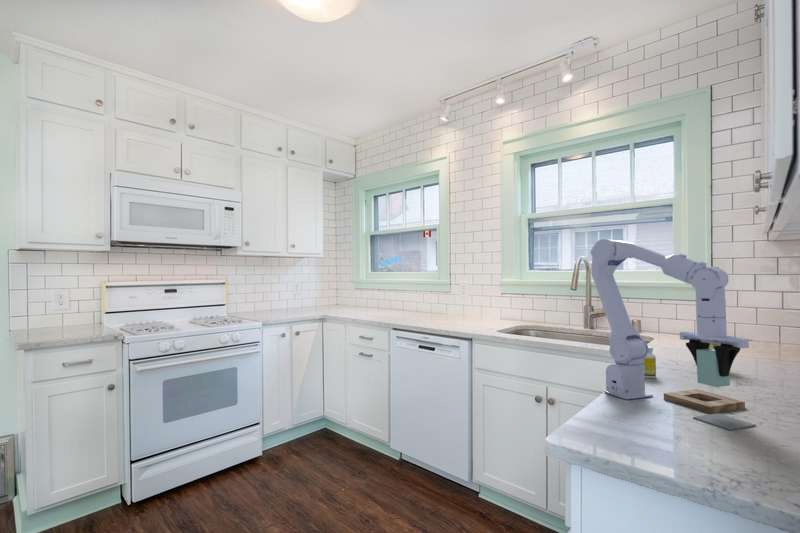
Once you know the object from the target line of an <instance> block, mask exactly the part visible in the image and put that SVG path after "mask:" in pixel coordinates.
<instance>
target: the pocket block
mask: <svg viewBox="0 0 800 533" xmlns="http://www.w3.org/2000/svg"><path fill="white" fill-rule="evenodd" d="M663 400H665V401H669V402H671V403H674V404H678V405H681V406H684V407H687V408H691V409H694V410H697V411H701V412H704V413H707V414H715V413H723V412H729V411H737V410H742V409H745V408H746V401H744V400H740V399H737V398H732V397H729V396H725V395H720V394H717V393H713V392H709V391H704V390H701V389H699V388H698V389H697V388H696V389H695V388H694V389H687V390H679V391H671V392H663Z"/></svg>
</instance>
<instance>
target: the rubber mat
mask: <svg viewBox="0 0 800 533" xmlns="http://www.w3.org/2000/svg"><path fill="white" fill-rule="evenodd" d="M692 419H694V420H697V421H700V422H703V423H706V424H709V425H712V426H714V427H715V426H716V427H718V428H721V429H724V430H728V431H735V430H741V429H747V428H752V427H754V428H755V427H757V424H755V423H752V422H748V421H745V420H742V419H738V418H735V417H733V416H728V415H725V414H722V413H720V412H717V413H708V414H704V415H697V416H693V417H692Z"/></svg>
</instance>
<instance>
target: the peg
mask: <svg viewBox="0 0 800 533" xmlns="http://www.w3.org/2000/svg"><path fill="white" fill-rule="evenodd" d="M696 351H697V366H696V373H697V374H696V375H697V376H696V377H697V384H701V385H706V386H709V387H710V386H711V387H714V388H720V387H730V386H731V378H730V377H731V376H730V372H729V376H725V377H722V376H720V375H719V367H718V358H717V354H716V351H715V349H710V348H709V349H698V350H696Z"/></svg>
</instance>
